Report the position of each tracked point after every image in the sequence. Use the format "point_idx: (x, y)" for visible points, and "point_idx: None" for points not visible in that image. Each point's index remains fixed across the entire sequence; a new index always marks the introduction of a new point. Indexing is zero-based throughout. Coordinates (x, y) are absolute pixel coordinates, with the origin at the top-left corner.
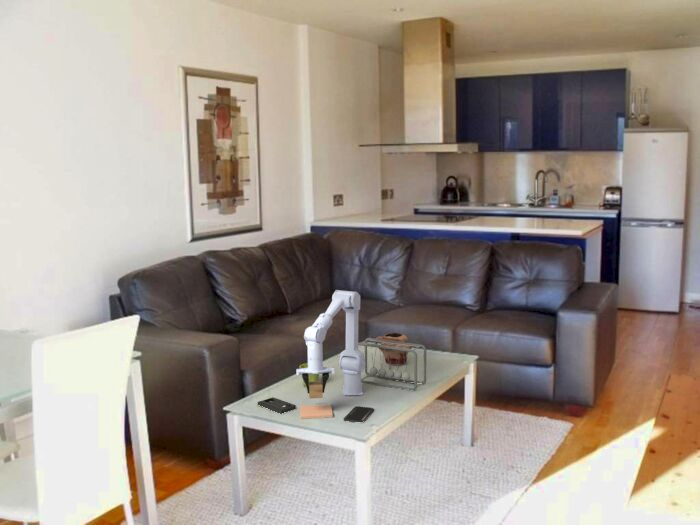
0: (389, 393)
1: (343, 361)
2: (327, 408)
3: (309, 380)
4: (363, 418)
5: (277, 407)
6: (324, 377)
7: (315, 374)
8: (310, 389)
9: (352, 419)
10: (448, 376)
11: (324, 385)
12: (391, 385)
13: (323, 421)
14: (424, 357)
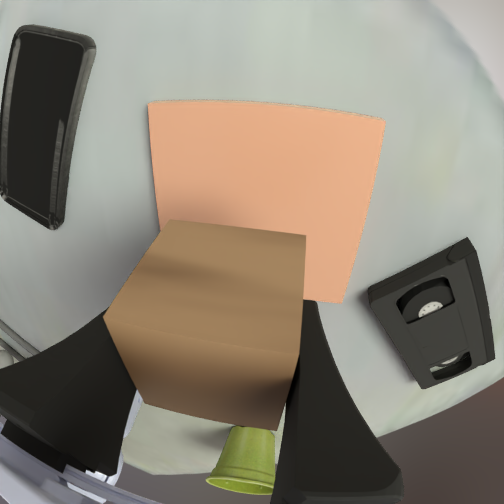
0: (21, 318)
1: (95, 473)
2: None
3: (254, 446)
4: (13, 68)
5: (468, 295)
6: (20, 398)
7: (230, 460)
8: (286, 307)
9: (50, 46)
10: None
11: (98, 324)
12: (32, 352)
13: (220, 31)
14: None
